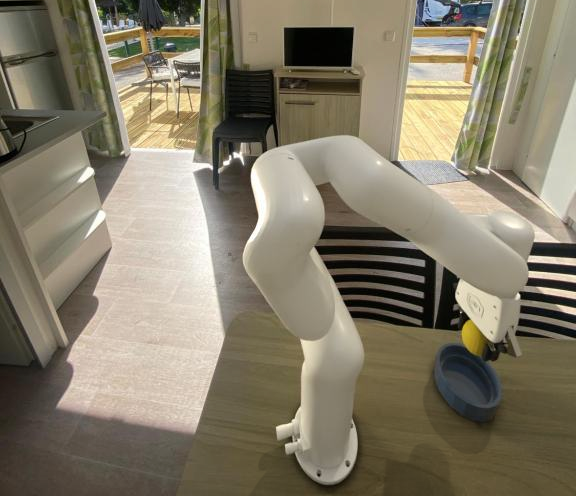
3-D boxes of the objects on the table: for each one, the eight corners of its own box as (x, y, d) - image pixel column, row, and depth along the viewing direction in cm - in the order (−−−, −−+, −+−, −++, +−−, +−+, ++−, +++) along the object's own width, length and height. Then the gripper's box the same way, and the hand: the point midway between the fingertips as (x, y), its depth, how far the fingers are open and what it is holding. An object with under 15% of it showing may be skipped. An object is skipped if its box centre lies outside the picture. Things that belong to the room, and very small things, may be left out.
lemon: (494, 368, 59) (503, 340, 56) (464, 362, 60) (471, 334, 57) (482, 340, 64) (490, 313, 61) (455, 335, 65) (461, 308, 63)
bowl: (461, 431, 59) (465, 415, 57) (422, 364, 70) (425, 349, 68) (511, 414, 61) (517, 398, 60) (465, 352, 72) (469, 337, 71)
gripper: (445, 244, 63) (432, 307, 68) (522, 322, 47) (497, 396, 52) (474, 239, 64) (460, 301, 70) (559, 312, 48) (531, 385, 54)
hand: (476, 341), depth 61 cm, fingers closed on lemon, 5 cm apart
